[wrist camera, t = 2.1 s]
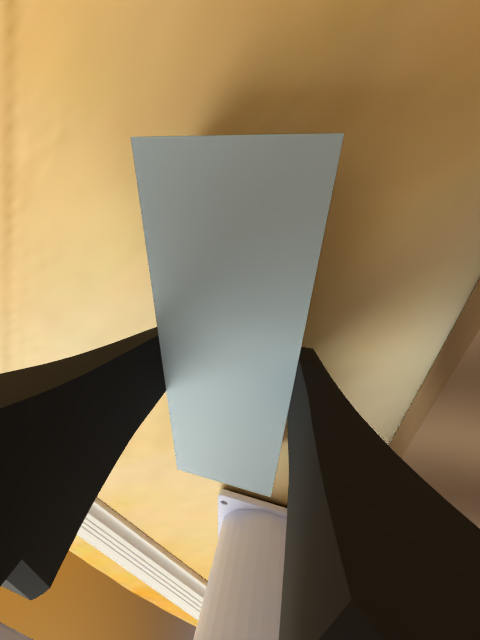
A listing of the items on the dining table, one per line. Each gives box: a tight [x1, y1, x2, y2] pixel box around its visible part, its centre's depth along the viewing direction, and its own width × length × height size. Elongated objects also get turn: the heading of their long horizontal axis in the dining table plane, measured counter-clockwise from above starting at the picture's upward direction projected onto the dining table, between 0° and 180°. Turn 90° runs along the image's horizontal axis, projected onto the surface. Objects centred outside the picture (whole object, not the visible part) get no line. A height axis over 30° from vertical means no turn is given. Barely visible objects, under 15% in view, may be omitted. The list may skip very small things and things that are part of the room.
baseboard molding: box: [77, 498, 208, 620], centre depth 27 cm, size 31×3×12 cm
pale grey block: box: [131, 133, 344, 497], centre depth 9 cm, size 14×5×3 cm, turn 178°
